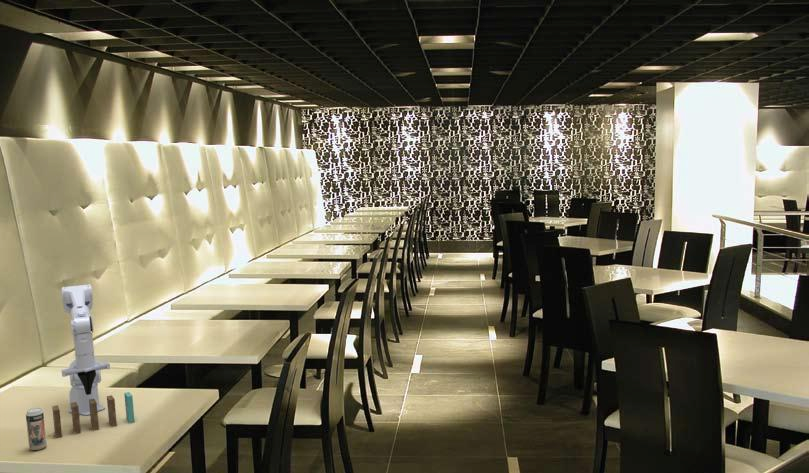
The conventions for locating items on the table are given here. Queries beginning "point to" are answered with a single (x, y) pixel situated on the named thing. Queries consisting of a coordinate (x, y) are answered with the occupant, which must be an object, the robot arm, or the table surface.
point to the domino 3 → (93, 414)
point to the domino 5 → (129, 407)
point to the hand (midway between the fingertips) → (88, 393)
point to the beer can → (36, 429)
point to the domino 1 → (57, 421)
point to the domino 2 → (75, 418)
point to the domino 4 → (111, 411)
